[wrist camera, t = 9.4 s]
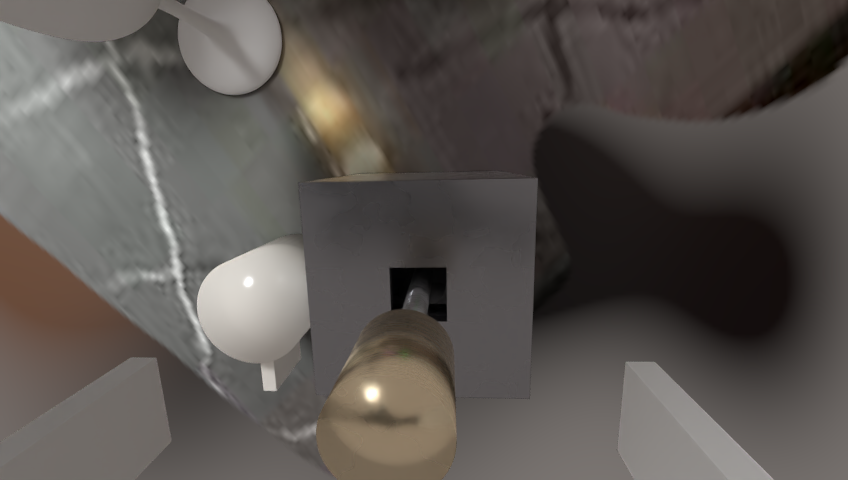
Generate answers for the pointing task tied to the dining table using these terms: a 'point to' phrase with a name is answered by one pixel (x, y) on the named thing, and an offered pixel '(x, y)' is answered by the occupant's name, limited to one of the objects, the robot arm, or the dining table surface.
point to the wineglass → (197, 32)
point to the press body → (425, 247)
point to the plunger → (395, 391)
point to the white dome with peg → (259, 307)
